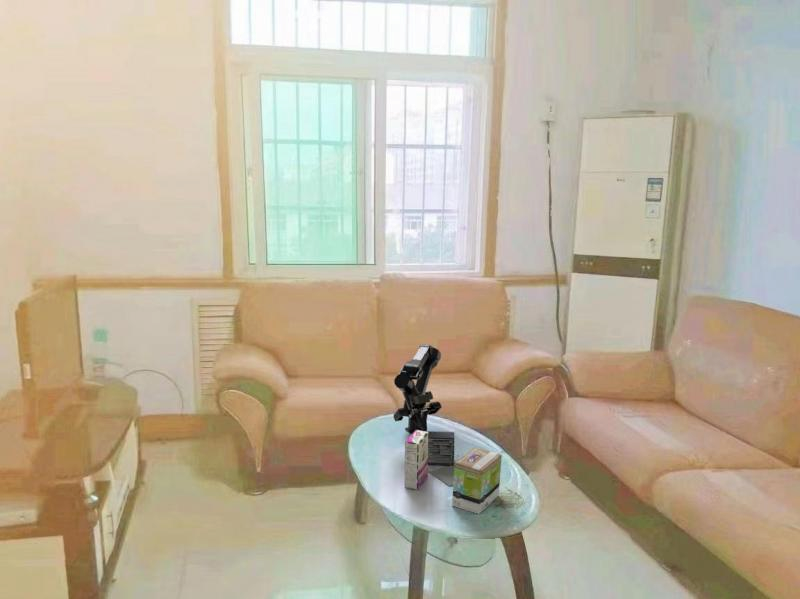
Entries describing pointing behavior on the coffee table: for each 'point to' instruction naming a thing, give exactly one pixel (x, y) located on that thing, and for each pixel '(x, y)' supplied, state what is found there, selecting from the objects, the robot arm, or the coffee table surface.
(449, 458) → the small box
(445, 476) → the slate mat
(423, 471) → the candy bar box
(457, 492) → the tea box
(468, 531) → the coffee table surface
